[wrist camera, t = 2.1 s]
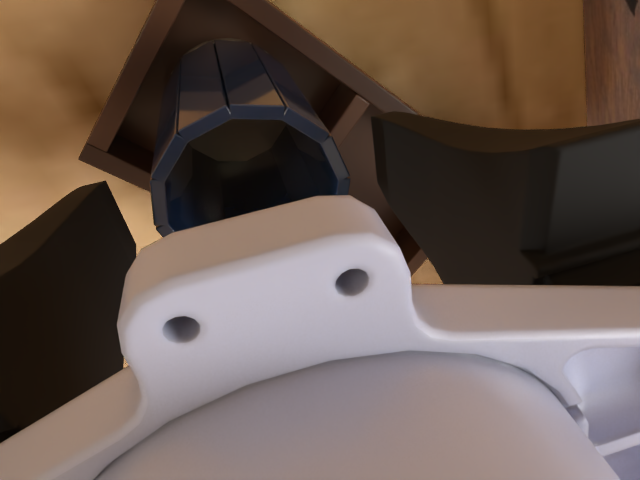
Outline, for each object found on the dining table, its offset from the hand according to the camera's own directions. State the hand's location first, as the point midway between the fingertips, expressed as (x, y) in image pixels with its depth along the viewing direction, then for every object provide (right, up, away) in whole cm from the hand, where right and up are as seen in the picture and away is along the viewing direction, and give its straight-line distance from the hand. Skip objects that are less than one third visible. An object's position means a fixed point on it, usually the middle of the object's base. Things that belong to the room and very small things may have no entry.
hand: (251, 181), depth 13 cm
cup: (-2, +4, +5) cm, 7 cm away
